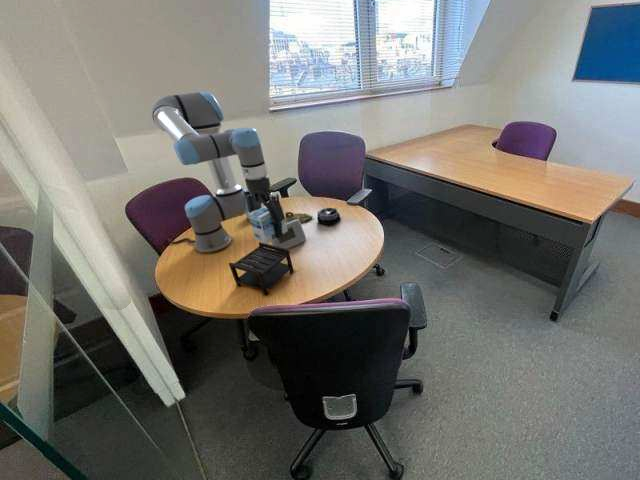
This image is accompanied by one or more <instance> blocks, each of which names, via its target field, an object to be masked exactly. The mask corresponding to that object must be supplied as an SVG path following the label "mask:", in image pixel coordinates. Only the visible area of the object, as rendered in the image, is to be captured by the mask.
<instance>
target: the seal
mask: <svg viewBox="0 0 640 480" xmlns="http://www.w3.org/2000/svg"><path fill="white" fill-rule="evenodd" d="M284 217H285V221H286V223H287V222H290V221H293V220H296V219H299V221H300V223H301V224H302V223H306V222H309V221H310V220H312V219H313V216H311V215H310V214H308V213H301V212H299V213H294V212H292V211H286V212H285V213H284Z"/></svg>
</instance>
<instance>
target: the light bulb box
mask: <svg viewBox="0 0 640 480" xmlns="http://www.w3.org/2000/svg"><path fill="white" fill-rule="evenodd" d="M281 208H282V211H283V214H284V215H285V213H284V209H283V205H281ZM248 216H249V219H248V221H249V223H250V226H251V230H252V233H253V236H254V240H256V241H258V242H261V243H265V244H269V243H272V242H271V241H272V240H274V239H276V238H277V237H276V233H275V229H274V226H273V222H274V220H273V218H272V217H271V215H270V213H269V211H268V209H267V208H266V206H264V205H262V206H261V208H259V209H257V210H255V211H253V212H251V213H249V214H248ZM286 223H287V221H286V220H285V219H284V220H283V221H281V224H282V232H283V234H284V233H286V232H287V231H288V230H287V226H286Z"/></svg>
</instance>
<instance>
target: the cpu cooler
mask: <svg viewBox="0 0 640 480" xmlns="http://www.w3.org/2000/svg"><path fill="white" fill-rule="evenodd" d="M337 209H338V208H335V207H325V208H322V209H320V210H319V211H317V217H316V218H317V223H318V224H320V225H323V226H328V227H330V226H333V225H335V224H336V223H338V222H340V221H341V214H340V213H339V211H338V210H337Z"/></svg>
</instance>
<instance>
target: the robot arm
mask: <svg viewBox="0 0 640 480" xmlns="http://www.w3.org/2000/svg"><path fill="white" fill-rule="evenodd" d="M151 119H152V120H153V122H154V124H155V125H156V127H158V129H160V130H161V131H163V132H165V133H166V134H167V135H168V136H169V137H170V139H171V140H172V141H173V142H174V143H173V149H174V152H175V154H176V157H177V158H178V160H179V162H180V163H181V164H182V165H183V166H190V165H198V164H201V163H205V162H207V165H208V168H209V170H210V173H211V175H212V179H213V181H214V184H215V186H216V189H215V190H214V195H215V196H213V197H212V196H211V195H209V194H205V195H199V196H196V197H194V198H192V199H189V201H188V202H186V203H185V205H184V211H185V215H186V217H187V218H188V221H189V223H190V225H191V228H192V230H193V232H194V236H195V237H194V238H195V239H194V240H191V239H190V238H189V237H184V238H181V239H179V240H176V241H172V240H171V239H170V238H169V237H167V238H165V241H166V242H167V241H168V242H169V243H170V244H174V245H175V244H180V243H181V242H183V241H188V243H191V244H193V243H195V249H196V251H197V252H198V253H199V254H212V253H213V254H214V253H218V252H219V251H222V250H224V249H226V248H227V247H229V246H230V245H231V243H232V238H231V235H230V234H229V232H228V231H226V229H225V228H224V227H223V224H222V222H226V221H228V220H232V219H234V218H237V217H242V216H243V215H245V214H246V213H248V212H249V213H251V212H252V211H255V210H257V209H259V208H261V207H262V206H266V208H267V209H268V211H269V213H270V215H271V217H272V218H273V220H274V222H273V226H274V229H275V233H276V237H277V238H278V239H279V238H280V237H281V236H283V232H282V224H281V221H283V220H284V219H285V213H284V214H283V212H284V210H283V211H282V208H281V206H282V204H281V201H280V195H279V194H278V193H275V194H274V193H272V191H271V189H270V187H271V181H270V177H269V175H268V170H267V166H266V162H265V158H264V154H263V149H262V144H261V139H260V136H259V134H258V131H257V129H255V128H254V127H249V126H248V127H238V128H235V129H233V128H229V129H225V131H223V132H220V129H221V128H222V123H221V122H222V121H224V113H223V110H222V108H221V105H220V104H219V102H218V101H217V99H216V97H215V96H214V95H213V94H212V93H210V92H208V91H200V92H199V91H197V92H191V93H181V94H180V93H179V94H171V95H166V96H164V97H162V98H160V99H158V100H157V101H156V102H155V104H154V105H153V107H152V108H151ZM233 156H237V157H238V161H239V165H240V167H241V171H242V174H243V177H244V178H245V179H244V181H245V185H246V189H245V188H243V186H241V184H238V183H237V181H236V177H235V174H234V172H233V168H232V165H231V162H230V160H229V157H233ZM262 204H263V205H262ZM246 215H247V214H246Z"/></svg>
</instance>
